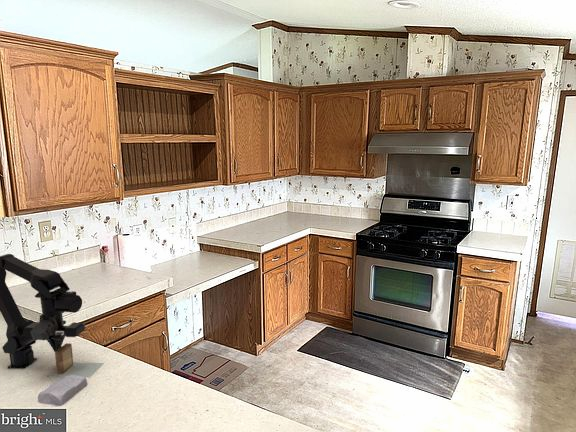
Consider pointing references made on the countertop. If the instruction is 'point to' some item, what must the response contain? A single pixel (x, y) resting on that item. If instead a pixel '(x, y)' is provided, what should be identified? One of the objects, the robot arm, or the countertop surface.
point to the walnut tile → (64, 358)
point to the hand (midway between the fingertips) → (57, 352)
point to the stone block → (62, 390)
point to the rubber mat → (79, 370)
